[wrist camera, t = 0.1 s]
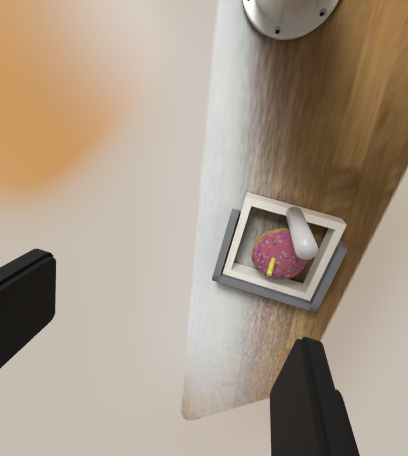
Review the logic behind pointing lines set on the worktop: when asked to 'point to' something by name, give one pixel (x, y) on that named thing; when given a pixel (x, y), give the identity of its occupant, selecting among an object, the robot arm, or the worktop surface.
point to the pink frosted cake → (277, 255)
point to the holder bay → (270, 293)
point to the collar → (301, 242)
